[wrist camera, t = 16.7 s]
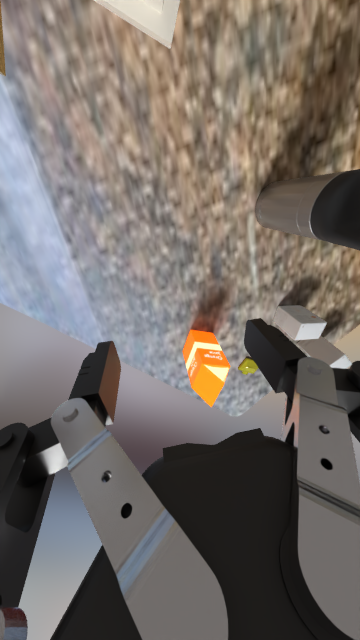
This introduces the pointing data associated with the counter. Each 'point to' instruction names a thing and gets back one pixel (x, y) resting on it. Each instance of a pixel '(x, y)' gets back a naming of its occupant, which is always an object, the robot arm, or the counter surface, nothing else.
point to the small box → (299, 322)
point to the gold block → (1, 48)
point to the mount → (147, 16)
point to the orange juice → (205, 364)
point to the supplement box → (325, 352)
